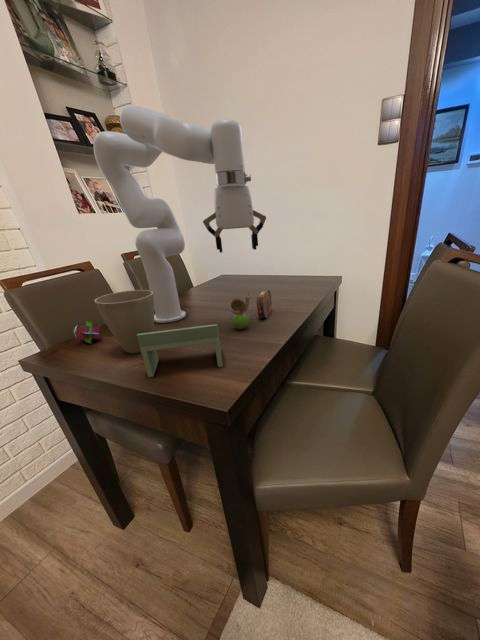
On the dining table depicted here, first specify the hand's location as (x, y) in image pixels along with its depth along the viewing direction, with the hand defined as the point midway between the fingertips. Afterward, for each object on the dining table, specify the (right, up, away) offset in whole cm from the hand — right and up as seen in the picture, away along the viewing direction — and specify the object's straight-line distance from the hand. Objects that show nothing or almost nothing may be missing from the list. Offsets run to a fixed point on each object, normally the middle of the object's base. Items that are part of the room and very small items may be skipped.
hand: (237, 250), depth 80 cm
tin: (+8, -15, +25) cm, 30 cm away
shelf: (-13, -32, -7) cm, 35 cm away
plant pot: (-30, -28, +4) cm, 41 cm away
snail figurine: (0, -22, +13) cm, 25 cm away
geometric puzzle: (-49, -26, +11) cm, 56 cm away
